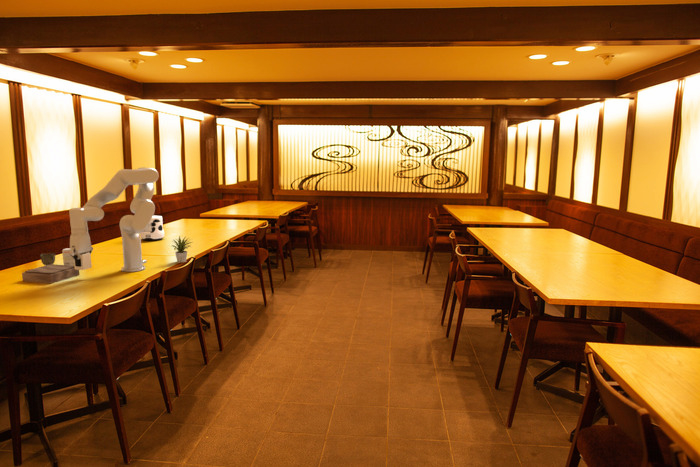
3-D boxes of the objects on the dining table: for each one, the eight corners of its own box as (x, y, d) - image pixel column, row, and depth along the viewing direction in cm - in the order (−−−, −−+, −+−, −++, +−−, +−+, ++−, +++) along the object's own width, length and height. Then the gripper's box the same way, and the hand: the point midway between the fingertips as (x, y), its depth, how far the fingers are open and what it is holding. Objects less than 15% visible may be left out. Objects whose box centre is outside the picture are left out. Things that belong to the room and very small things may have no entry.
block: (82, 266, 245) (81, 252, 243) (91, 267, 244) (90, 252, 242) (74, 269, 240) (73, 254, 238) (83, 270, 238) (82, 255, 237)
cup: (43, 266, 268) (41, 253, 266) (57, 265, 270) (56, 252, 269) (39, 269, 261) (38, 255, 259) (54, 268, 263) (53, 254, 262)
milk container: (160, 236, 368) (159, 214, 365) (167, 240, 355) (166, 217, 352) (137, 239, 357) (136, 216, 354) (144, 242, 344) (143, 219, 341)
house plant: (185, 265, 274) (183, 238, 272) (164, 264, 277) (163, 237, 274) (197, 260, 288) (196, 234, 285) (177, 259, 291) (176, 233, 288)
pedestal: (51, 272, 253) (51, 263, 253) (79, 274, 250) (78, 265, 249) (22, 281, 236) (21, 271, 235) (52, 283, 232) (51, 273, 232)
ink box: (83, 267, 266) (81, 247, 265) (80, 269, 262) (78, 249, 260) (67, 267, 265) (65, 248, 263) (63, 269, 260) (61, 249, 258)
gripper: (86, 228, 247) (89, 260, 250) (60, 233, 231) (63, 268, 234) (98, 229, 246) (101, 261, 249) (72, 234, 229) (76, 269, 232)
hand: (82, 264), depth 241 cm, fingers closed on block, 5 cm apart
